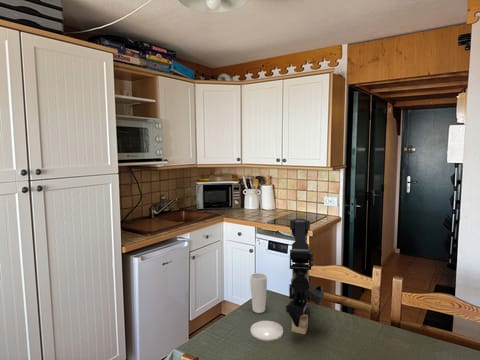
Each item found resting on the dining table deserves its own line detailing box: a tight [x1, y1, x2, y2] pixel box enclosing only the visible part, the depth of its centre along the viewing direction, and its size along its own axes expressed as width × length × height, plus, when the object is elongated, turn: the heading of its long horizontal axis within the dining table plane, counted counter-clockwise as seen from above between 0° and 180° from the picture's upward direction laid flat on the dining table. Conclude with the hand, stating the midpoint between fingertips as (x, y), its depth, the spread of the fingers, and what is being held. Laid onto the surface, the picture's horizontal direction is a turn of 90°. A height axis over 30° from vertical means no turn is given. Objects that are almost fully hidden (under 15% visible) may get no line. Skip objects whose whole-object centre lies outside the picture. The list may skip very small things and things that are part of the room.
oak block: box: [291, 314, 309, 335], centre depth 127 cm, size 5×5×5 cm
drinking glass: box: [249, 272, 268, 314], centre depth 141 cm, size 7×7×15 cm
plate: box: [250, 320, 284, 342], centre depth 126 cm, size 12×12×1 cm
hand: (299, 320), depth 127 cm, fingers open, 9 cm apart
